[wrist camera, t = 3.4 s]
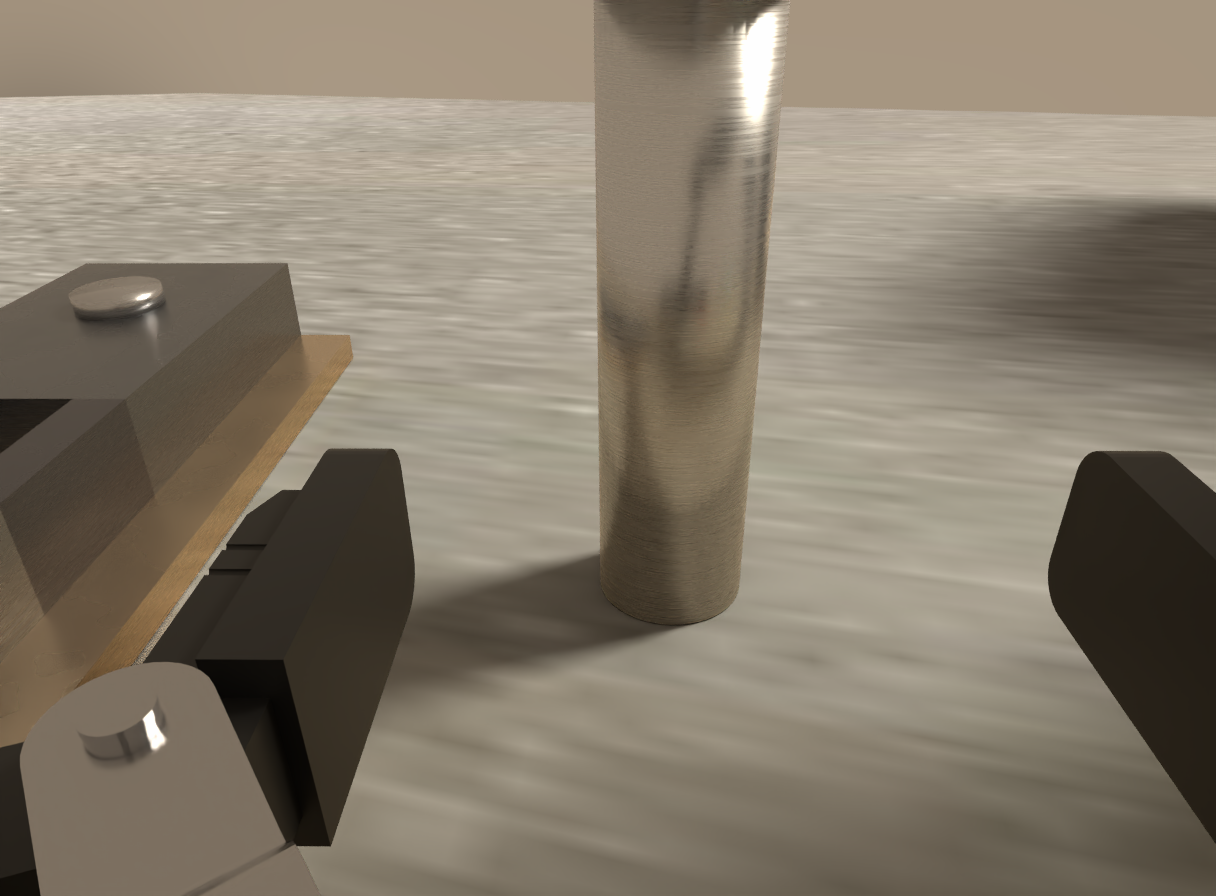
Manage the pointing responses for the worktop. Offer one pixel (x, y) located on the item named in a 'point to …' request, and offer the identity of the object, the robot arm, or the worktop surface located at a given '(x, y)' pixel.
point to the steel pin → (681, 289)
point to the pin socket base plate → (134, 453)
